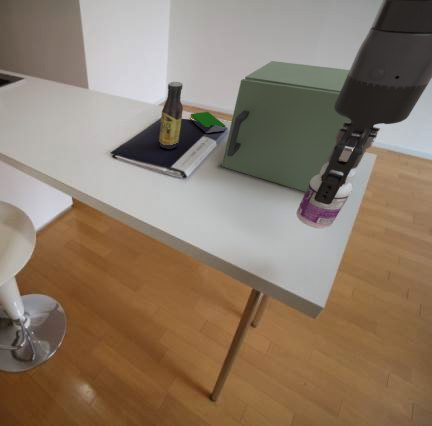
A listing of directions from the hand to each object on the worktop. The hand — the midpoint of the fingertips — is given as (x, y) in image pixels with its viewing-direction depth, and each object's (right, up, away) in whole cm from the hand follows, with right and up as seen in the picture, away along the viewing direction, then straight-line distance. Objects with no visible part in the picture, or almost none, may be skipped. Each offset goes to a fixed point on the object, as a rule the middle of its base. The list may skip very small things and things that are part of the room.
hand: (327, 191), depth 44 cm
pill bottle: (0, -4, +4) cm, 6 cm away
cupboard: (+16, +11, +39) cm, 43 cm away
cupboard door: (+7, +4, +31) cm, 33 cm away
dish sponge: (+2, +29, +62) cm, 68 cm away
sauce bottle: (-15, +18, +51) cm, 56 cm away
